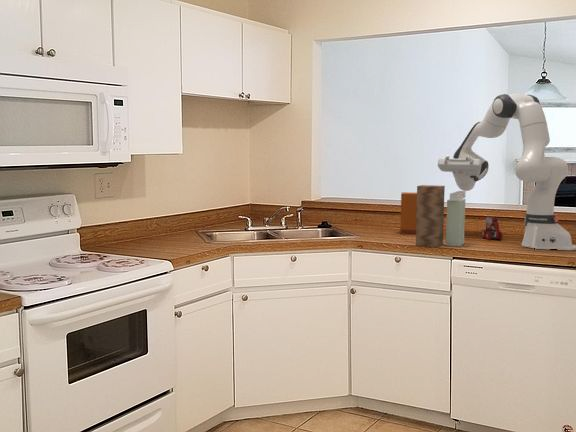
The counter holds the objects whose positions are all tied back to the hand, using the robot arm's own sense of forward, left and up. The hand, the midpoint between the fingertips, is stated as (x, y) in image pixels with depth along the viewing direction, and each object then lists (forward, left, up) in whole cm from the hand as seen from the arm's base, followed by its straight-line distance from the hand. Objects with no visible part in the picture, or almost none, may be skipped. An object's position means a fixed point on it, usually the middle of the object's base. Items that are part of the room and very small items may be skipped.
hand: (457, 156), depth 318 cm
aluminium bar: (-4, +16, -18) cm, 25 cm away
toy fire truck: (-16, -7, -39) cm, 42 cm away
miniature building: (+24, -10, -39) cm, 47 cm away
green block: (-4, +19, -38) cm, 43 cm away
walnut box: (+6, +25, -38) cm, 46 cm away
